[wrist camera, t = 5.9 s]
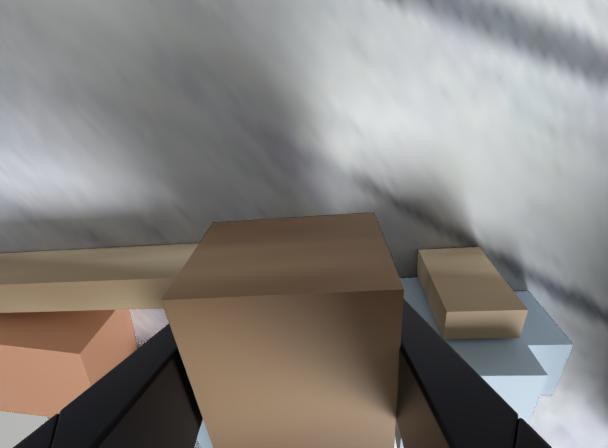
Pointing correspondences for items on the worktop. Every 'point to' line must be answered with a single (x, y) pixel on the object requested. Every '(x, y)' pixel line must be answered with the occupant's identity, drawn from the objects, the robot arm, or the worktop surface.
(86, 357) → the salmon pink cuboid
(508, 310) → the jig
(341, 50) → the worktop surface
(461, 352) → the pale blue channel
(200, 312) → the tan wooden block
